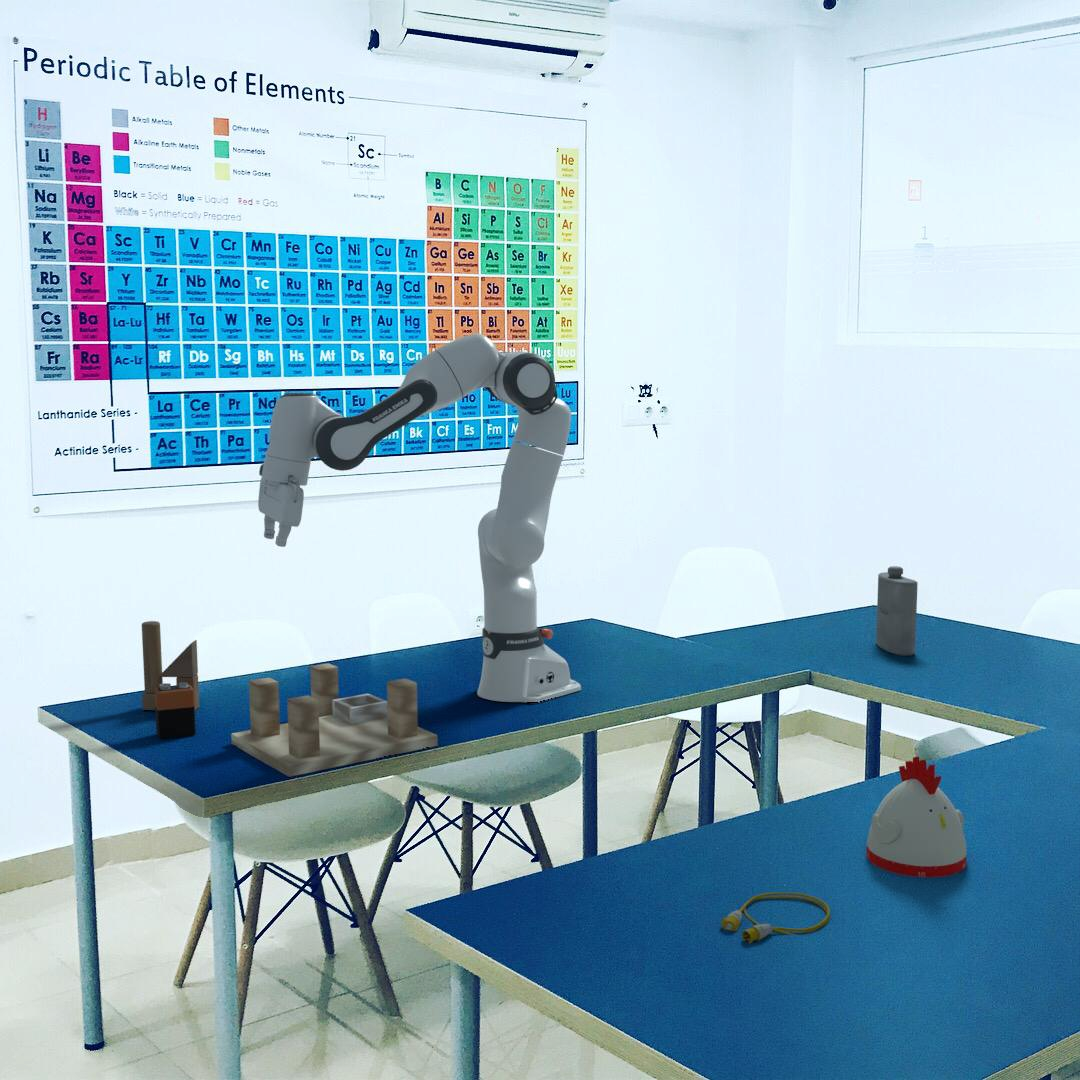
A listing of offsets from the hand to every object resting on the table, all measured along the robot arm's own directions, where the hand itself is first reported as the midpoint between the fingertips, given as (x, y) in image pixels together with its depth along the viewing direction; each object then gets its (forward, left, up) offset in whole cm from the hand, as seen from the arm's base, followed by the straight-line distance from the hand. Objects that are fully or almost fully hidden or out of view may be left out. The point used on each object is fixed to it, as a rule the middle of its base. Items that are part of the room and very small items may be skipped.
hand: (274, 542), depth 267 cm
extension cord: (-9, +128, -35) cm, 133 cm away
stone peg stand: (+1, +26, -35) cm, 43 cm away
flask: (-144, +37, -35) cm, 152 cm away
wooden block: (+16, -16, -35) cm, 42 cm away
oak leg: (-7, +7, -35) cm, 36 cm away
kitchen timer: (-40, +126, -35) cm, 137 cm away
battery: (+22, +2, -35) cm, 42 cm away
